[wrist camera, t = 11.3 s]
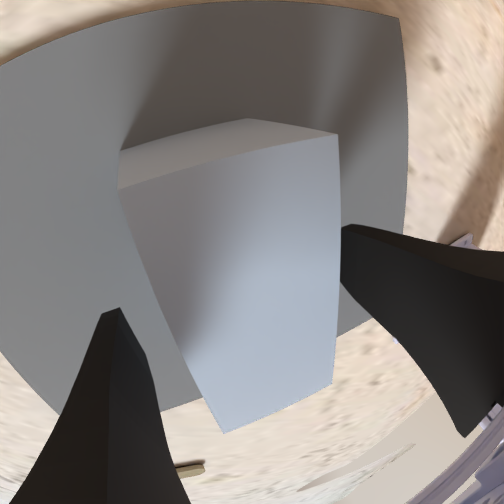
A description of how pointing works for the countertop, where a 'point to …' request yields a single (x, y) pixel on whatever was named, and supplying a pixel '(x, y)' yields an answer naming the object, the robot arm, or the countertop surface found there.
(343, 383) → the countertop surface
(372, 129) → the mat
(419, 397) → the countertop surface
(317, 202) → the case
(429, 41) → the countertop surface
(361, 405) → the countertop surface
